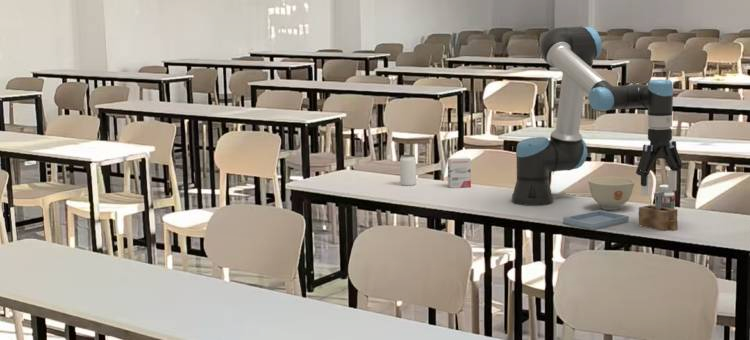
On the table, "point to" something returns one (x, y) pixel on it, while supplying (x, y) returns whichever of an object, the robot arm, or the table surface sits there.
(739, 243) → the table surface
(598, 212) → the tray
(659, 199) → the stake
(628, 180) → the bowl
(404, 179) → the can
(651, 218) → the brown wooden hollow block
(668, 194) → the pill bottle
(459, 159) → the ink box
